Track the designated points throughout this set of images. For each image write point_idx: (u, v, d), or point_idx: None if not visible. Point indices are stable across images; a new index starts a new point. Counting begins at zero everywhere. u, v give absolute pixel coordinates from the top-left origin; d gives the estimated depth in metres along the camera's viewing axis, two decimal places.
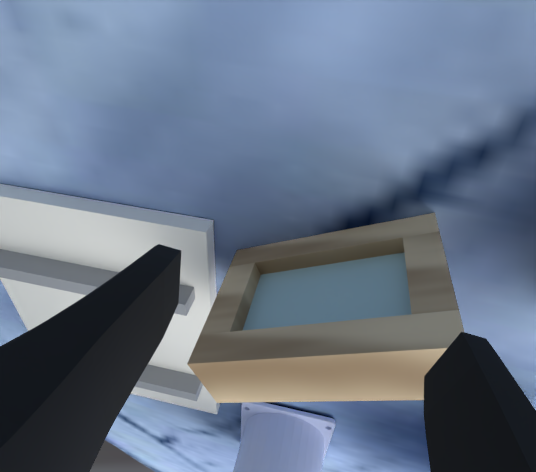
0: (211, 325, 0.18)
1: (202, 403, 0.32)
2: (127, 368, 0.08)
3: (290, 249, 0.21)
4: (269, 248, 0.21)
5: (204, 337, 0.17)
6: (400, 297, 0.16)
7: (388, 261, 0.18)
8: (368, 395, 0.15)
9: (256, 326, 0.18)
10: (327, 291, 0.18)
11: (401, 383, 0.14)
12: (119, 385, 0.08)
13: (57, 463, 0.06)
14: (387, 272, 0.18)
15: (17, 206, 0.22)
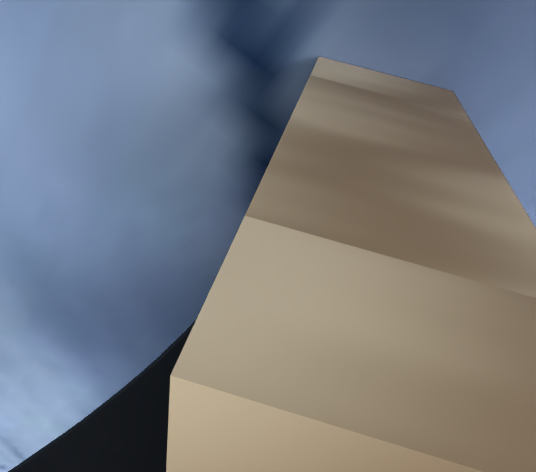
0: None
1: None
2: None
3: None
4: None
5: None
6: None
7: None
8: None
9: None
10: None
11: None
12: None
13: None
14: None
15: None
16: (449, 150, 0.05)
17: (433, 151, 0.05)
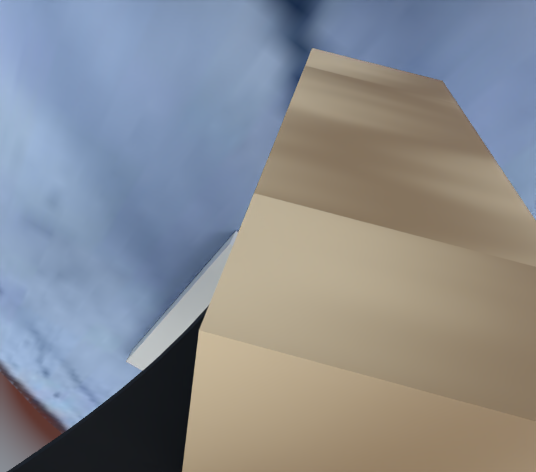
0: None
1: None
2: None
3: None
4: None
5: None
6: None
7: None
8: None
9: None
10: None
11: None
12: None
13: None
14: None
15: (152, 342, 0.27)
16: (441, 135, 0.06)
17: (426, 135, 0.06)
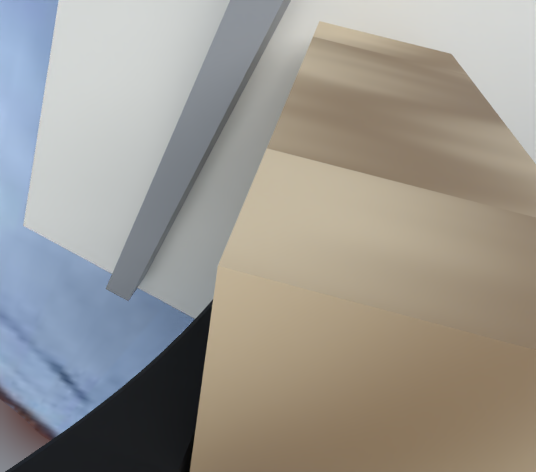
0: None
1: None
2: None
3: None
4: None
5: None
6: None
7: None
8: None
9: None
10: None
11: None
12: None
13: None
14: None
15: (49, 158, 0.14)
16: (452, 102, 0.06)
17: (437, 102, 0.05)
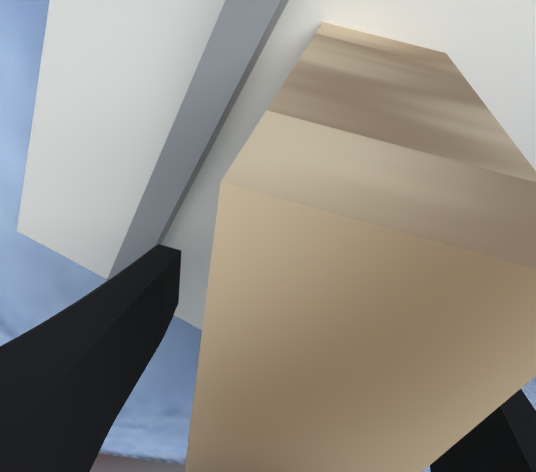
0: None
1: None
2: (127, 368, 0.08)
3: None
4: None
5: None
6: None
7: None
8: None
9: None
10: None
11: (360, 411, 0.04)
12: (119, 385, 0.08)
13: (57, 463, 0.06)
14: None
15: (42, 163, 0.13)
16: (439, 88, 0.06)
17: (425, 87, 0.06)
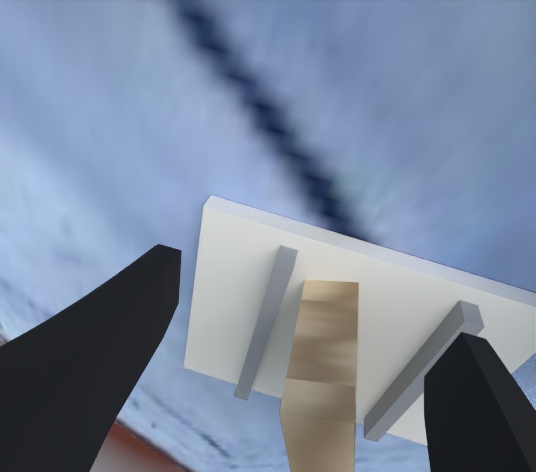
0: None
1: (533, 326, 0.20)
2: (127, 368, 0.08)
3: None
4: None
5: None
6: None
7: None
8: (345, 466, 0.17)
9: None
10: None
11: (327, 448, 0.16)
12: (119, 385, 0.08)
13: (57, 463, 0.06)
14: None
15: (194, 338, 0.27)
16: (342, 331, 0.18)
17: (336, 334, 0.18)
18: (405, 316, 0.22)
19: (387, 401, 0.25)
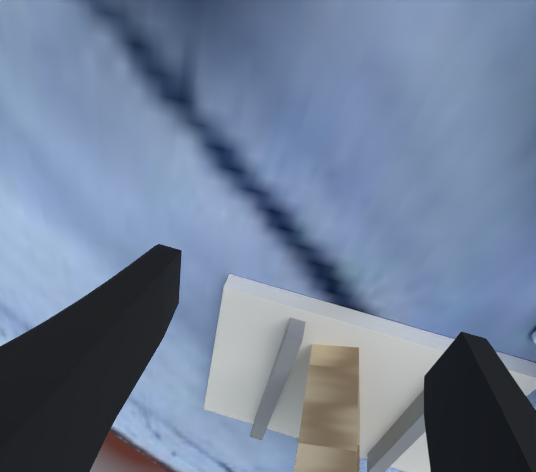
0: None
1: None
2: (127, 368, 0.08)
3: None
4: None
5: None
6: None
7: None
8: None
9: None
10: None
11: None
12: (119, 385, 0.08)
13: (57, 463, 0.06)
14: None
15: (214, 386, 0.31)
16: (345, 397, 0.22)
17: (340, 400, 0.21)
18: (400, 374, 0.25)
19: (387, 443, 0.29)
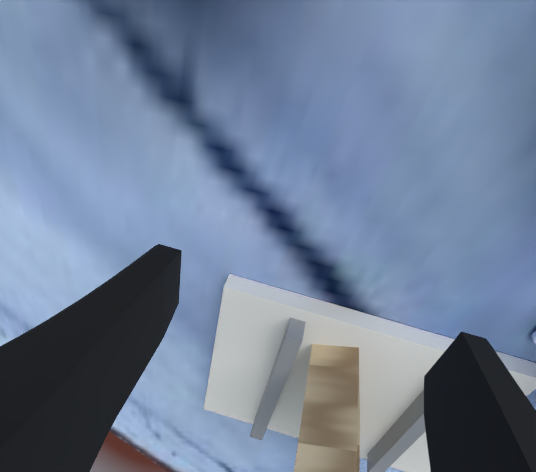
0: None
1: None
2: (127, 368, 0.08)
3: None
4: None
5: None
6: None
7: None
8: None
9: None
10: None
11: None
12: (119, 385, 0.08)
13: (57, 463, 0.06)
14: None
15: (214, 386, 0.31)
16: (345, 397, 0.22)
17: (340, 400, 0.21)
18: (400, 374, 0.25)
19: (387, 443, 0.29)
